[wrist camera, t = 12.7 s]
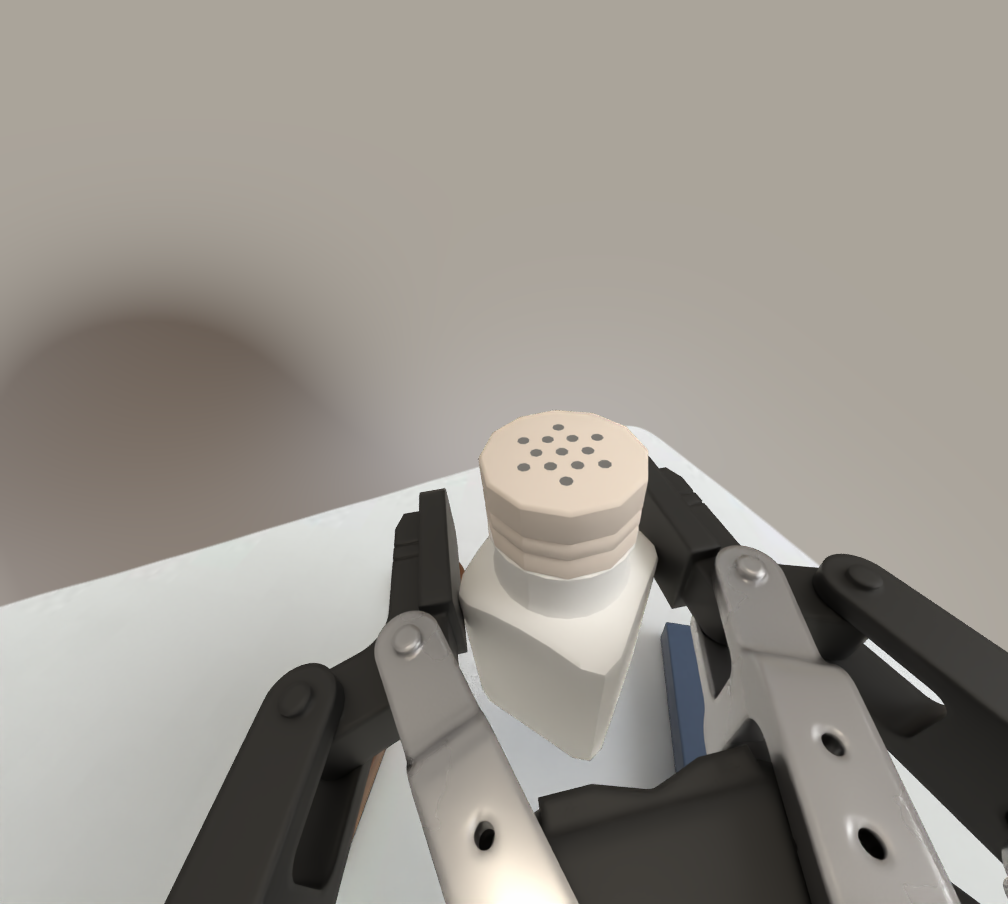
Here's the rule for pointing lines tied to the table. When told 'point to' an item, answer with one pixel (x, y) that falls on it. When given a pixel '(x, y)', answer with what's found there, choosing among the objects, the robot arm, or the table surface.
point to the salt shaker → (560, 573)
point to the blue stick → (683, 694)
